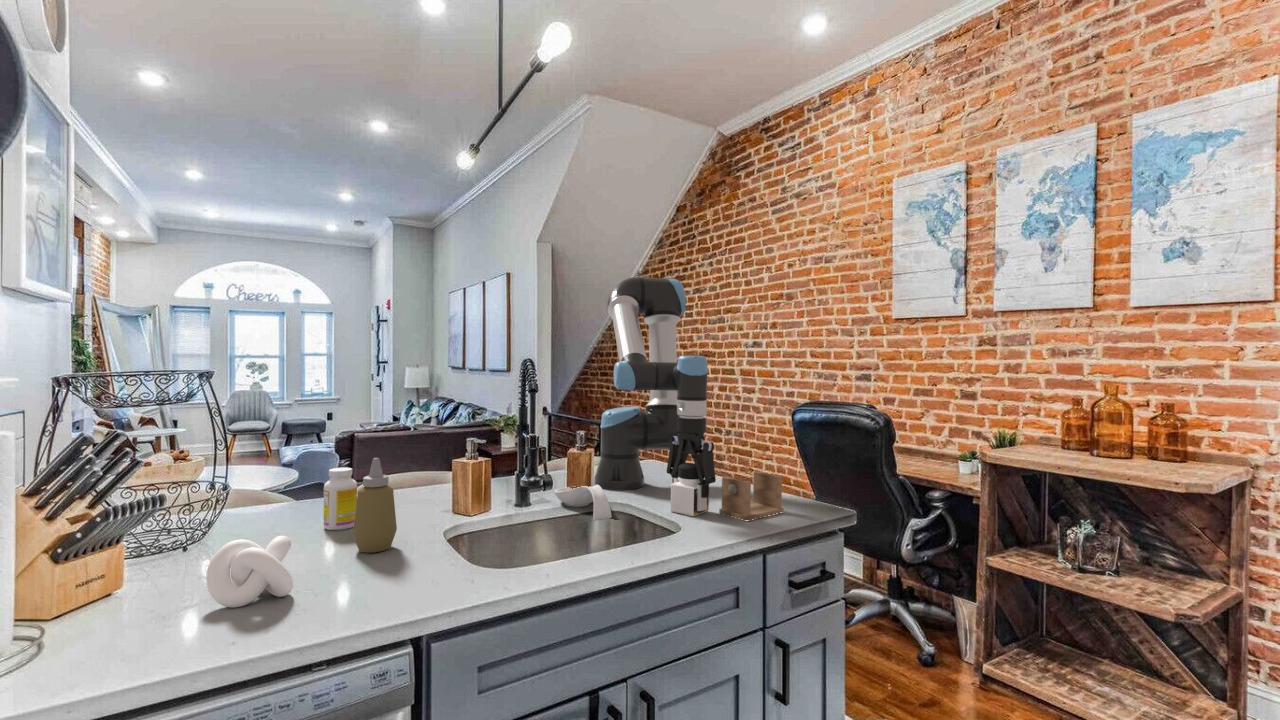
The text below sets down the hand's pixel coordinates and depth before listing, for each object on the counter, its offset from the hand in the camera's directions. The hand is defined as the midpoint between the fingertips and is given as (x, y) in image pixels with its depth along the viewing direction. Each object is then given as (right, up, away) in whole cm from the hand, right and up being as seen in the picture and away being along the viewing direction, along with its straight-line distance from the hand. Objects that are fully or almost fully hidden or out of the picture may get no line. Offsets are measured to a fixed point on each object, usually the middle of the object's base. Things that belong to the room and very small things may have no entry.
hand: (689, 506), depth 151 cm
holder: (+16, -2, 0) cm, 16 cm away
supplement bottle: (-79, 0, -18) cm, 81 cm away
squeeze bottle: (-65, -1, -32) cm, 73 cm away
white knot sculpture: (-74, -1, -56) cm, 92 cm away
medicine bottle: (0, -1, 0) cm, 1 cm away
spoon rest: (-27, -1, +2) cm, 27 cm away
